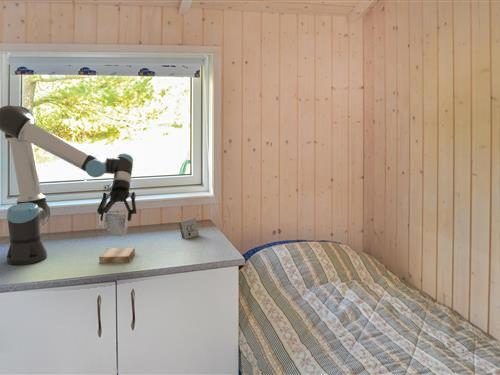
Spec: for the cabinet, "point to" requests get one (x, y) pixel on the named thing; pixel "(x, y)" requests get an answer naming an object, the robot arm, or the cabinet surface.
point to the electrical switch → (189, 228)
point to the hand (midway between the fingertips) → (114, 227)
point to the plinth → (116, 255)
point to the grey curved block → (116, 224)
